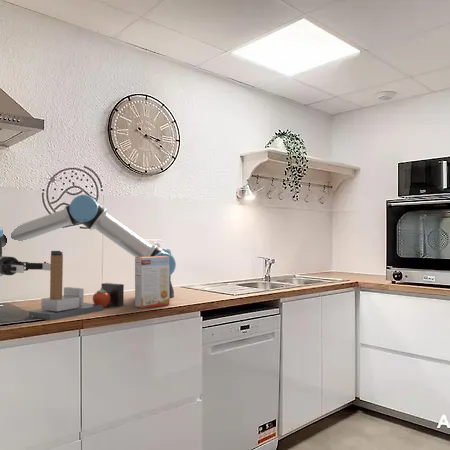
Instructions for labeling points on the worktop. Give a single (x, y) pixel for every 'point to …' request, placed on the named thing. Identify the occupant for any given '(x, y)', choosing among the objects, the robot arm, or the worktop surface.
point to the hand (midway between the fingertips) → (38, 268)
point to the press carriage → (60, 288)
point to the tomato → (101, 298)
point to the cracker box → (151, 281)
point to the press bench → (85, 304)
